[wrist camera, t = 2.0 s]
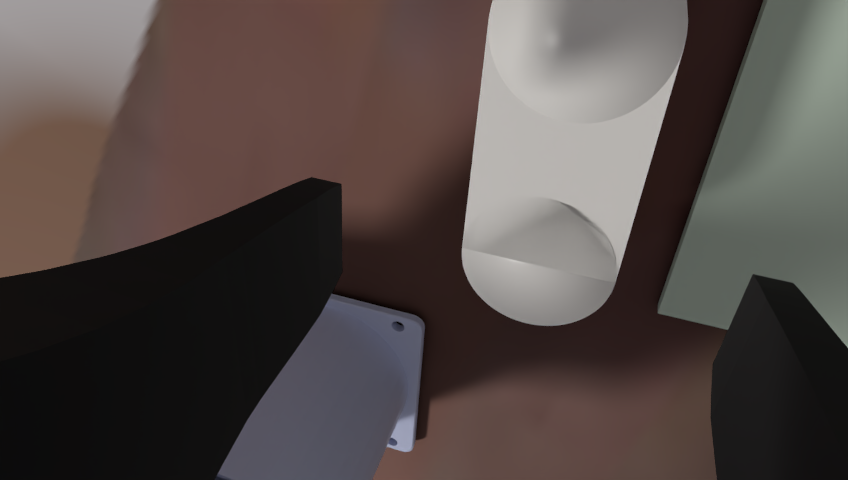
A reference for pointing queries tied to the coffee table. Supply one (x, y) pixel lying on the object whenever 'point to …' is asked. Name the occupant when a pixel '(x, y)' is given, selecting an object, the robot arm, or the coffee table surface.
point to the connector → (564, 148)
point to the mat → (774, 174)
